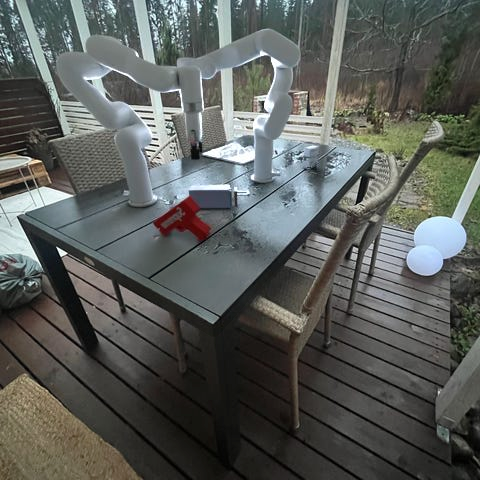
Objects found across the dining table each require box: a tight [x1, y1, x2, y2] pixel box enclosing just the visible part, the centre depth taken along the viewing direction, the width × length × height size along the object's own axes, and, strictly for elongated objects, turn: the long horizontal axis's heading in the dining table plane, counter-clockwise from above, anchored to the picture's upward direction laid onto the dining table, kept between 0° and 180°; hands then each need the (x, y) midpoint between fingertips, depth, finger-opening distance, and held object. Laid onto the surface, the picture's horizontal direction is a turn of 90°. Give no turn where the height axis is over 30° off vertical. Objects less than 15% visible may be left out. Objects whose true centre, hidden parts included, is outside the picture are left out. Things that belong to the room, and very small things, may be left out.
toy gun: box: [152, 195, 212, 243], centre depth 96 cm, size 18×4×15 cm
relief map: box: [201, 141, 254, 165], centre depth 184 cm, size 27×35×5 cm
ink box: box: [301, 144, 320, 170], centre depth 160 cm, size 8×5×12 cm, turn 134°
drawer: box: [230, 186, 251, 208], centre depth 116 cm, size 21×5×7 cm, turn 91°
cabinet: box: [188, 184, 231, 211], centre depth 116 cm, size 17×6×9 cm, turn 91°
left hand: (197, 155), depth 106 cm, fingers open, 9 cm apart
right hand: (193, 135), depth 123 cm, fingers open, 9 cm apart
